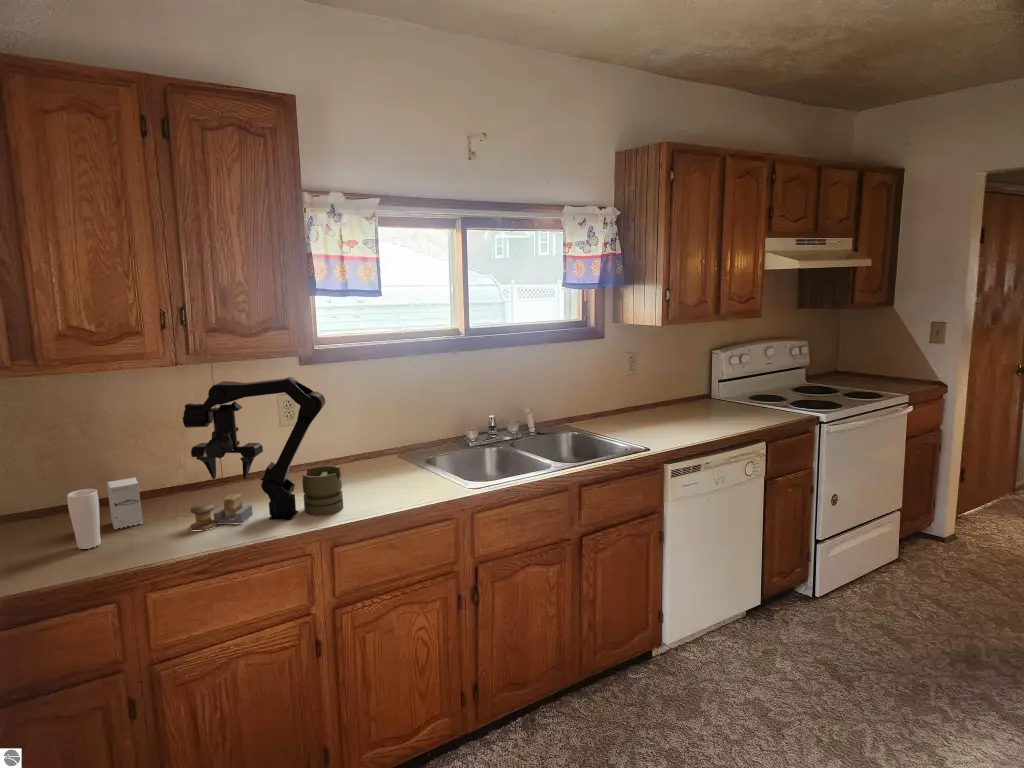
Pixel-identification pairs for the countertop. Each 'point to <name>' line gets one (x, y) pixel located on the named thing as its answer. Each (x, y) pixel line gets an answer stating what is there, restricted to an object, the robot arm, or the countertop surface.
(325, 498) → the grooved olive planter pot
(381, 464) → the countertop surface
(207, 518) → the spool
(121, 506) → the supplement box
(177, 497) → the countertop surface
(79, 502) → the drinking glass
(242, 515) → the grey u-shaped channel block
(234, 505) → the wooden block
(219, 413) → the robot arm
